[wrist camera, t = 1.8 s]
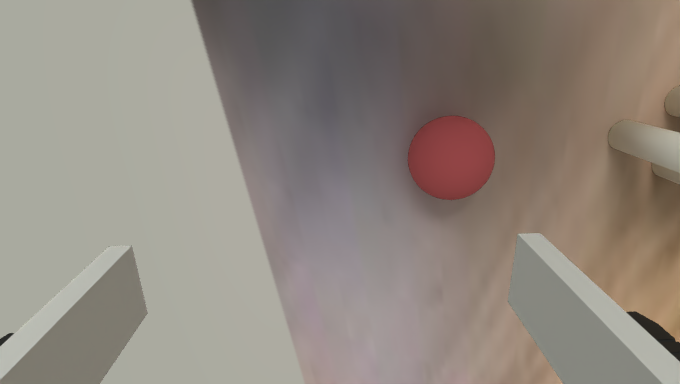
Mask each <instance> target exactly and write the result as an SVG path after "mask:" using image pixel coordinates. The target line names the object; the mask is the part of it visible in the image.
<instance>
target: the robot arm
mask: <svg viewBox="0 0 680 384" xmlns="http://www.w3.org/2000/svg"><path fill="white" fill-rule="evenodd" d="M508 303H509V304H510V306H511V307H512V309H513V310H514V311H515V313H516V314H517V316H518V317H519V319H520V320H521V322H522V323H523V325H524V326H525V328H526V329H527V331H528V332H529V334H530V335H531V337H532V338H533V340H534V341H535V343H536V344H537V345H538V347H539V348H540V350H541V351H542V353H543V354H544V356H545V357H546V359H547V360H548V362H549V363H550V365H551V366H552V368H553V369H554V371H555V372H556V374H557V375H558V377H559V378H560V379H561V381H562V382H563V384H680V343H679V342H676V341H675V338H674V337H672V336H671V335H670V334H669V333H668V332H667V331H665V330H664V329H663V328H662V327H661V326H660V325H659V324H657V323H655V322H653V321H652V320H650V319H648V318H646V317H645V316H643V315H641V314H639V313H637V312H625V311H624V310H623V309H622V308H621V307H620V306H619V305H618V304H617V303H615V302H614V301H613V300H612V299H611V298H610V297H609V296H608V295H607V294H606V293H605V292H603V291H602V290H601V289H600V288H599V287H598V286H597V285H596V284H595V283H594V282H593V281H592V280H590V279H589V278H588V277H587V276H586V275H585V274H584V273H583V272H582V271H581V270H580V269H579V268H577V267H576V266H575V265H574V264H573V263H572V262H571V261H570V260H569V259H568V258H567V257H565V256H564V255H563V254H562V253H561V252H560V251H559V250H558V249H557V248H556V247H555V246H554V245H552V244H551V243H550V242H549V241H548V240H547V239H546V238H545V237H544V236H543V235H542V234H540V233H526V234H518V235H517V242H516V249H515V256H514V262H513V269H512V276H511V283H510V289H509V296H508ZM146 315H147V309H146V304H145V300H144V295H143V291H142V287H141V283H140V278H139V274H138V270H137V266H136V262H135V257H134V253H133V249H132V246H109V247H108V248H107V249H106V250H105V251H103V252H102V253H101V254H100V255H99V256H98V257H97V258H96V259H95V260H94V261H93V262H91V263H90V264H89V265H88V266H87V267H86V268H85V269H84V270H83V271H82V272H81V273H80V274H78V275H77V276H76V277H75V278H74V279H73V280H72V281H71V282H70V283H69V284H68V285H66V286H65V287H64V288H63V289H62V290H61V291H60V292H59V293H58V294H57V295H56V296H54V297H53V299H51V300H50V301H49V302H48V303H47V304H46V305H45V306H44V307H43V308H41V309H40V310H39V311H38V312H37V313H36V314H35V315H34V316H33V317H32V318H31V319H30V320H28V321H27V322H26V323H25V324H24V325H23V326H22V327H21V328H20V329H19V330H18V331H17V332H15V333H9V334H7V335H6V336H4V337H3V338H1V339H0V384H100V383H101V381H102V380H103V378H104V376H105V375H106V374H107V372H108V371H109V369H110V368H111V366H112V365H113V363H114V362H115V360H116V359H117V358H118V356H119V355H120V353H121V351H122V350H123V349H124V347H125V346H126V344H127V343H128V341H129V340H130V338H131V337H132V335H133V334H134V332H135V331H136V329H137V328H138V326H139V325H140V324H141V322H142V321H143V319H144V318H145V316H146Z"/></svg>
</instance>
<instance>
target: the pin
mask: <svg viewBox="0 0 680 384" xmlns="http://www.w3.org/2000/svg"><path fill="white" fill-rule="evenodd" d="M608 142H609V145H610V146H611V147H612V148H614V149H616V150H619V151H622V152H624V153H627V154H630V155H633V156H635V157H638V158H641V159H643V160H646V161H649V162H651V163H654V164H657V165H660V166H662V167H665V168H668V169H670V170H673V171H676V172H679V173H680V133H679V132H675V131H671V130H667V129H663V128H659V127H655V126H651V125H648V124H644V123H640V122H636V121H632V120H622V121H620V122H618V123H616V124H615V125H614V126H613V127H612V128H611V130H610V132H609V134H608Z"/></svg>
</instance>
